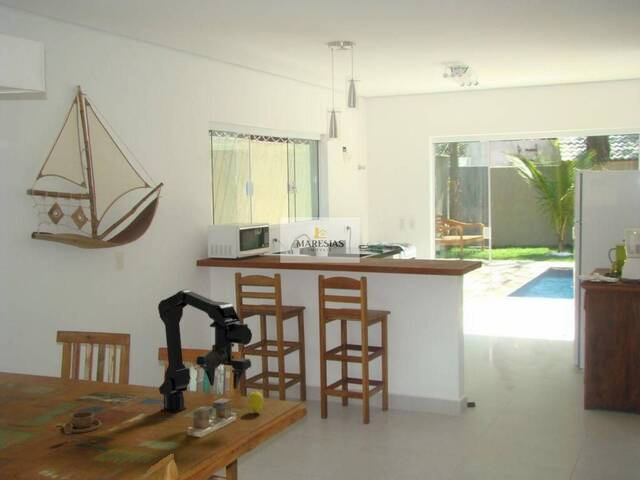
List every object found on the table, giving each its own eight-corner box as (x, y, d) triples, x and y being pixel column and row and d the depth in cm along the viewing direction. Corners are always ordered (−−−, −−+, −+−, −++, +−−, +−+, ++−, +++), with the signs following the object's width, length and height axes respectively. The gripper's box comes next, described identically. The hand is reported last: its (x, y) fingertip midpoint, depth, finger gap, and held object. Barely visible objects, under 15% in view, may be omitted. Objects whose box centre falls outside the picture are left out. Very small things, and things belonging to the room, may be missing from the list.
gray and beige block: (213, 419, 255) (212, 402, 255) (221, 415, 260) (221, 398, 259) (222, 421, 253) (222, 403, 253) (230, 417, 258) (230, 399, 258)
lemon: (261, 415, 265) (261, 393, 265) (245, 414, 266) (245, 392, 266) (265, 411, 270) (265, 389, 270) (250, 410, 272) (250, 388, 271)
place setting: (115, 428, 252) (115, 411, 252) (69, 446, 235) (69, 427, 234) (76, 420, 260) (76, 403, 260) (29, 436, 243) (29, 418, 242)
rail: (188, 434, 244) (187, 411, 243) (223, 418, 262) (223, 396, 262) (200, 437, 242) (200, 413, 241) (236, 420, 260) (236, 398, 259)
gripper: (186, 342, 253) (186, 389, 254) (233, 348, 245) (233, 396, 246) (205, 337, 263) (205, 381, 264) (252, 342, 255) (252, 388, 256)
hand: (223, 387), depth 257 cm, fingers open, 9 cm apart
